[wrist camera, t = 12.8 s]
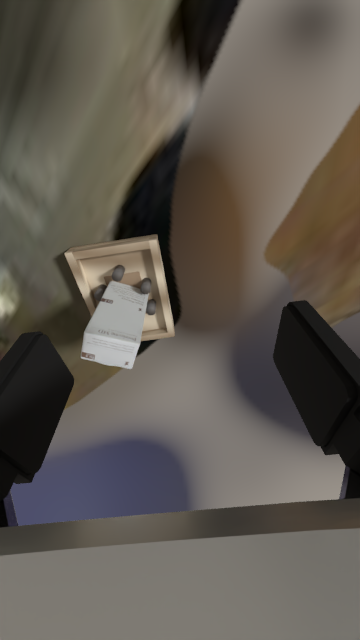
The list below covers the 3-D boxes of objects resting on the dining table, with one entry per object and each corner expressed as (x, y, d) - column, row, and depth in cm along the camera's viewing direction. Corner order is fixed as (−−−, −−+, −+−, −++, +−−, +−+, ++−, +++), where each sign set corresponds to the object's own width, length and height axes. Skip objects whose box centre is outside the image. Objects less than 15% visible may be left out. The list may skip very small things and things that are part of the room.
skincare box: (149, 290, 34) (143, 343, 24) (142, 314, 36) (134, 371, 26) (108, 279, 32) (83, 329, 23) (103, 304, 35) (79, 360, 25)
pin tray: (71, 247, 31) (60, 256, 28) (157, 234, 31) (156, 242, 28) (107, 336, 40) (102, 350, 37) (174, 327, 40) (174, 340, 37)
